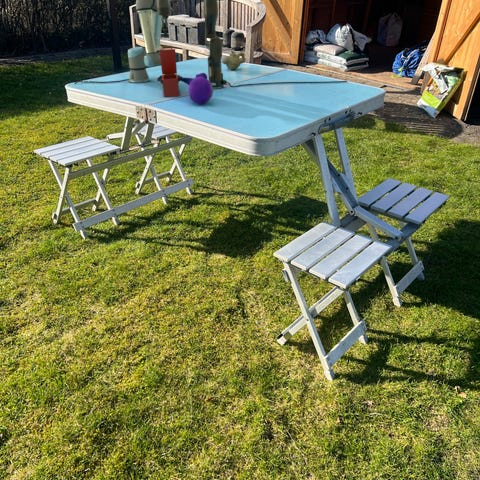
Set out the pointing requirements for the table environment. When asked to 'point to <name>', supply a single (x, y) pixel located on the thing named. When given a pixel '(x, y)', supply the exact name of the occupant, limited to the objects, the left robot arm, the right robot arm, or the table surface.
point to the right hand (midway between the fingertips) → (165, 36)
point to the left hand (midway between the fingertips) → (170, 81)
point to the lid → (168, 60)
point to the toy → (199, 88)
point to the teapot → (233, 60)
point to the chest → (170, 85)
